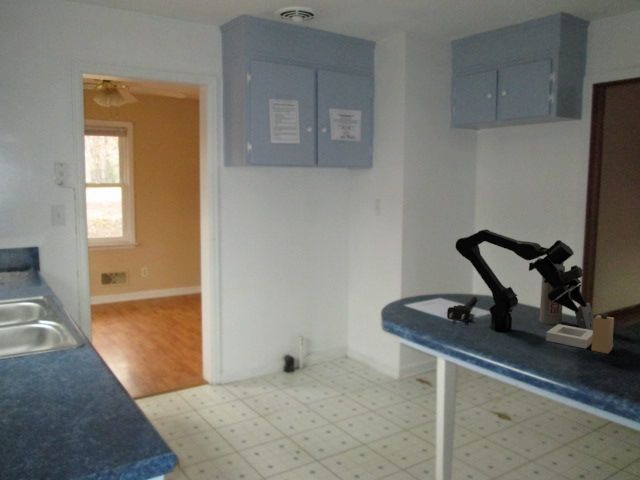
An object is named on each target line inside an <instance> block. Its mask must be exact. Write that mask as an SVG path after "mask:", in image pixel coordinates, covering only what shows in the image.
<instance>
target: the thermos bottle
mask: <svg viewBox="0 0 640 480" xmlns="http://www.w3.org/2000/svg"><path fill="white" fill-rule="evenodd" d="M564 263H565V262H563V263H562V264H561V265H559V264H554V265H555V266H556V267H557V268H558V269H559V270H560V269H561V270H563V271H564V272H566V266H565V265H564ZM544 280H545V279H544V278H543V277H542V276H541V286H540V287H541V288H540V289H541V290H540V304H539V305H540V306H539V322H540V323H542V324H545V325H553V326H554V325H555V326H556V325H558V324H560V325H562V321H563V320H562V318H563V306H562V305H560V304H558V303H555V302H554V301H555V300H557V299H555V300H554V301H552V302H551V301H550V299H549V298H548V293H549V292H551V291H552V290H553V288H552V287H551V286H550V285H549V284H548V283H545V282H544Z"/></svg>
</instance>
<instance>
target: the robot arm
mask: <svg viewBox="0 0 640 480" xmlns="http://www.w3.org/2000/svg"><path fill="white" fill-rule="evenodd" d="M484 242H486V243H489V244H492V245H494V246H496V247H500V248H502V249H506V250H508V251H511V252H513V253H514V254H515V255H516V256H518V257H520V258H522V259H523V260H525V261H529V263H528V266H529V267H528V271H529V272H531V271H534V270H536V271H537V272H538V273H539V275H540V276H541V278H542V277H543V278H544V279H545V280H544V282H545V283H548V284H549V285H550V286H551V287H552V288H553V290H552V291H551V292H549V293H548V298H549V299H550V301H551V302H552V301H554V300H555V299H557V300H555V301H554V302H555V303H558V304H560V305H562V307H565V308H567V309H569V311H570V310H571V311H572V312H574V313H575V312H576V313H577V312H579V309H578V305H579V306H583V307H586V306H587V302H586V300H585V298H584V296H583V294H582V292H581V289H582V288H581V287H582V281H581V280H580V279H581V278H582V277H584V272H583V270H584V269H582V268H581V266H578V265H577V264H576V265H572V266H570V270H567V271H566V270H565V272H564V271H563V270H561V269H560V270H559V269H558V268H557V267H556V266H555V265H554V264H559V265H561V264H562V263H565V261H567V260H568V259H570V258H571V257H572V256H573V255H574V251H573V249H572V248H571V247H570V246H569V245H567V244H566V243H564V242H563V241H561V240H560V239H558V240H556V241H555V242H554V243H553V244H552V245H551V246H550V247H549V248H548V247H543V246H541V244H539V243H537V242H533V241H524V240H517V239H515V238H511V237H508V236H506V235H503V234H500V233H496V232H494V231H491V230H489V229H481V230H478V232H475V233H473V234H472V235H469V236H467V237H466V236H465V237H462V238H458V239H457V240H456V241H455V249H456V251H457V252H458V254H459V255H461V257H463V258H464V259H466V260H468V261H469V262H470V263H471V265H472V266H473V267H474V269H475V270H476V272H477V273H478V275H479V276H480V278H481V279H482V280H483V282H484V283H485V285H486V286H487V288H488V289H489V290H490V291H491V294H492V300H493V302H494V305H492V306H491V307H489V313H490V315H491V316H490V317H491V320H490V325H488V328H490V329H492V330H493V331H495V332H513V329H512V326H513V325H512V324H513V317H512V313H513V310H514V309H515V308H517V306H518V303H519V300H518V294H516V293H515V291H514V290H513V288H512V286H509V287H506V286H504V285H503V284H502V282H501V281H500V280H499V278H498V277H497V275H496V274H495V273H494V271H493V269H492V268H491V267H490V266H489V264H488V263H487V261H486V260H485V259H484V257H483V256H482V254H481V250H480V247H479V245H481V244H482V243H484ZM541 257H543V258H541ZM536 259H537V260H536ZM533 260H535V261H534V262H533ZM530 261H531V262H530ZM576 303H577V304H578V305H577V304H576ZM511 312H512V313H511Z"/></svg>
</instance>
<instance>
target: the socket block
mask: <svg viewBox="0 0 640 480" xmlns="http://www.w3.org/2000/svg"><path fill="white" fill-rule="evenodd" d="M545 335H546V336H545V341H547V342H552V343H557V344H561V345H565V346H572V347H577V348H581V349H585V350H586V349H587V348H588V347H590V345H592V335H593V329H592V330H588V329H582V328H579V327H576V326H569V325H565V324H557V325H555V326H554V327H552V328H551V329H548V331H546V333H545Z"/></svg>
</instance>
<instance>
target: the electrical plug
mask: <svg viewBox="0 0 640 480" xmlns="http://www.w3.org/2000/svg"><path fill="white" fill-rule="evenodd" d="M477 299H478V298H477V296H472V297H471V299H469V301H467V302H466V303H465V304H463V305H462V304H458V305H454V306H450V307H448V308H447V311H446V313H447V314H446V316H447V317H446V318H447V319H448V320H456V321H457V320H458V321H465V322H468V321H470V315H471V306H472V304H474V303H475V302H476V301H477Z"/></svg>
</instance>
